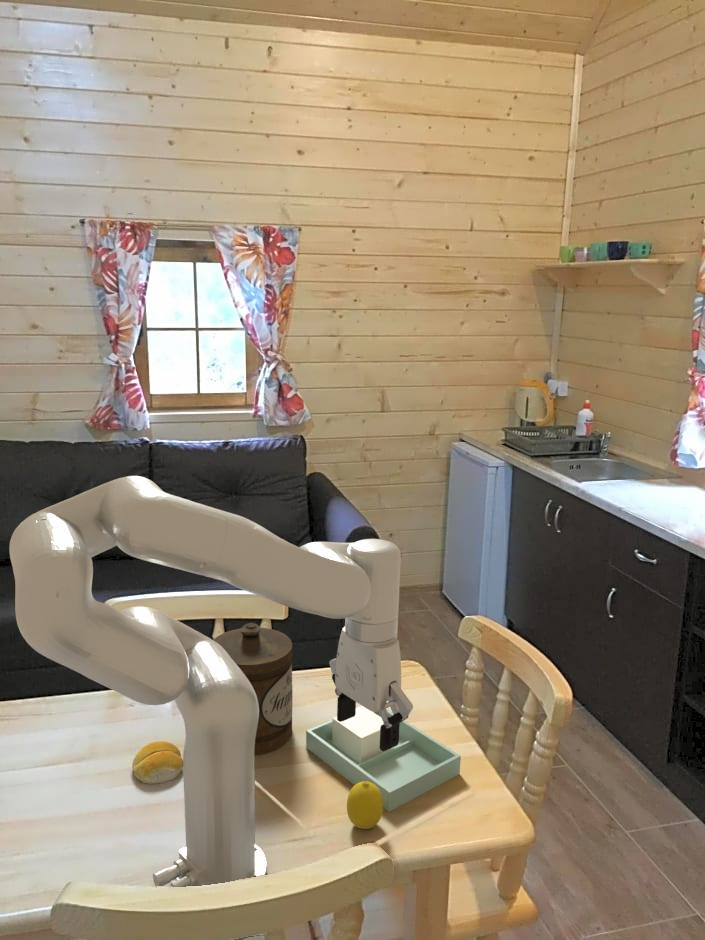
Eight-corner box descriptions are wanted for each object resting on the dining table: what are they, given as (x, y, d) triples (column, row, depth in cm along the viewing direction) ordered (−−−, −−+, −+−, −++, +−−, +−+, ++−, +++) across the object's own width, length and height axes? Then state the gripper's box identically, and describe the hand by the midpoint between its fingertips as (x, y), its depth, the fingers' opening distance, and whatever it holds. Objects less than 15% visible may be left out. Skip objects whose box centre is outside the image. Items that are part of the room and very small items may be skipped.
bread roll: (177, 750, 142) (177, 730, 141) (186, 779, 134) (186, 758, 133) (129, 759, 139) (128, 738, 138) (135, 789, 131) (134, 768, 130)
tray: (388, 815, 125) (389, 792, 124) (306, 750, 142) (306, 730, 141) (459, 776, 135) (460, 755, 134) (374, 720, 152) (375, 701, 151)
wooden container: (289, 759, 139) (289, 643, 134) (204, 758, 139) (200, 642, 134) (294, 714, 154) (295, 607, 148) (217, 713, 153) (215, 606, 148)
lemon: (379, 843, 119) (380, 796, 117) (342, 837, 120) (343, 790, 118) (385, 819, 124) (386, 774, 122) (350, 814, 125) (351, 769, 124)
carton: (360, 764, 137) (361, 738, 136) (332, 743, 143) (332, 718, 142) (391, 749, 142) (392, 724, 140) (362, 729, 148) (362, 705, 146)
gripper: (314, 611, 119) (311, 715, 123) (392, 654, 106) (387, 769, 110) (352, 600, 123) (349, 700, 127) (432, 640, 111) (426, 750, 115)
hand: (367, 732), depth 119 cm, fingers open, 9 cm apart
